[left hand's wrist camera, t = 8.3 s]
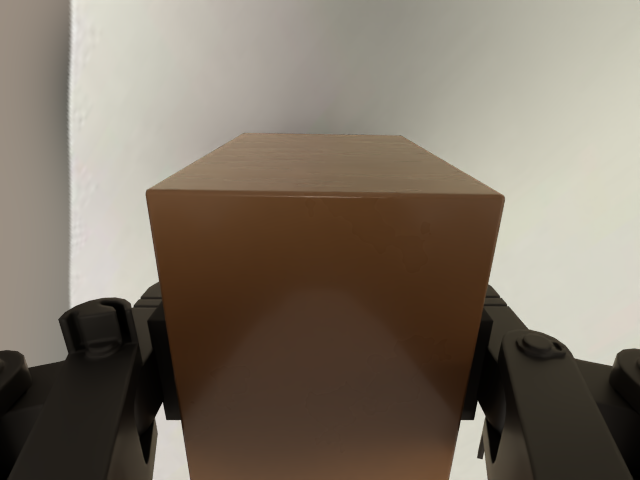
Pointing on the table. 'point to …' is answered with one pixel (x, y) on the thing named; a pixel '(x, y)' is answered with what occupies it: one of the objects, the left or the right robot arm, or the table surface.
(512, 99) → the table surface
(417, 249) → the post
